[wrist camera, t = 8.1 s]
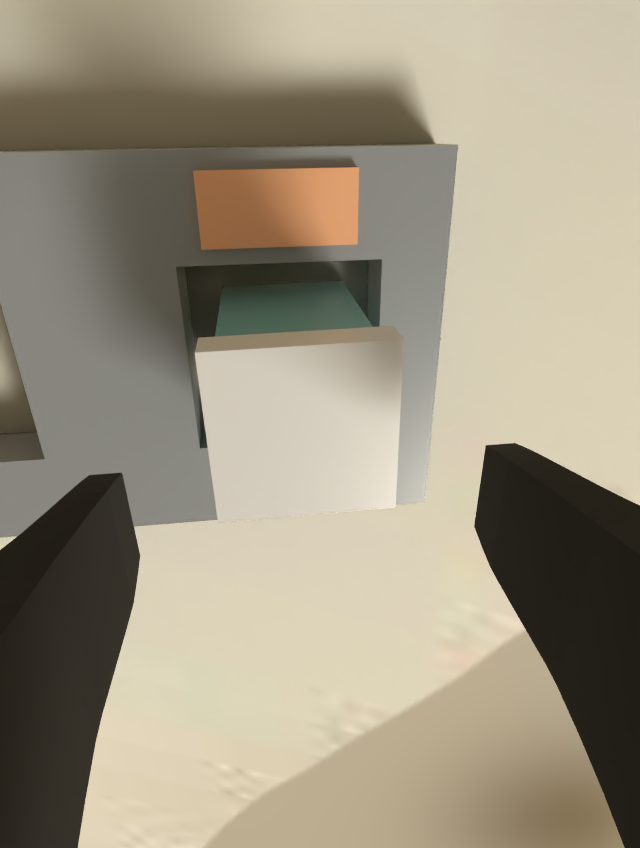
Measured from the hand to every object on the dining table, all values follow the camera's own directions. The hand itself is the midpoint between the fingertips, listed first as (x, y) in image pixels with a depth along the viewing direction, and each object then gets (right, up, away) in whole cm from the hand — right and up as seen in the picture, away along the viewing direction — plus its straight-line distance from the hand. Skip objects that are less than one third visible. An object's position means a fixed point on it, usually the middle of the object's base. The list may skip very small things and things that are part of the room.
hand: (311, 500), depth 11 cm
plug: (-1, +4, +8) cm, 9 cm away
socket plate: (-7, +4, +8) cm, 11 cm away
